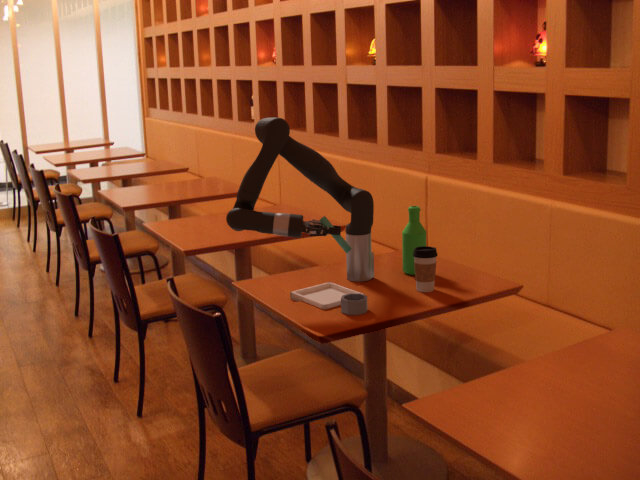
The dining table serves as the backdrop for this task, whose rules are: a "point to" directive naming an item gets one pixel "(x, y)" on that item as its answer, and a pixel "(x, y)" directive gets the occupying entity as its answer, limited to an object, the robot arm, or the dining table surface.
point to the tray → (322, 295)
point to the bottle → (412, 239)
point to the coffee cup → (425, 267)
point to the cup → (354, 304)
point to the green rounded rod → (338, 238)
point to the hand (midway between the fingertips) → (340, 230)
